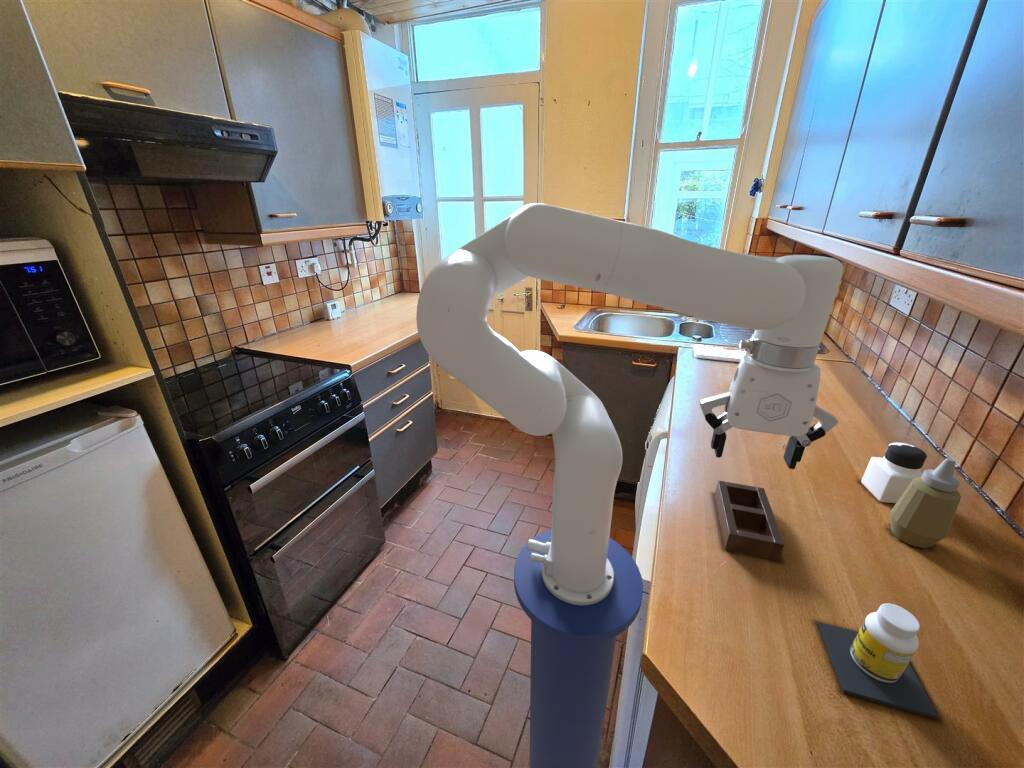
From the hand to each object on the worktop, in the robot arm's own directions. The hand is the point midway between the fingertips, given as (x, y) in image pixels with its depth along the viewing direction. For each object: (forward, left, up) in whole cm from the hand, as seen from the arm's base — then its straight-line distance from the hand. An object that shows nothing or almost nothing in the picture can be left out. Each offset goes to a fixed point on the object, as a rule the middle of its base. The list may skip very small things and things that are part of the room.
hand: (752, 458), depth 61 cm
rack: (+6, +14, -24) cm, 29 cm away
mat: (+18, -11, -24) cm, 32 cm away
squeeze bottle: (+36, +20, -24) cm, 48 cm away
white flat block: (+14, +119, -24) cm, 122 cm away
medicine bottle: (+38, +34, -24) cm, 57 cm away
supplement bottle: (+18, -11, -24) cm, 32 cm away
